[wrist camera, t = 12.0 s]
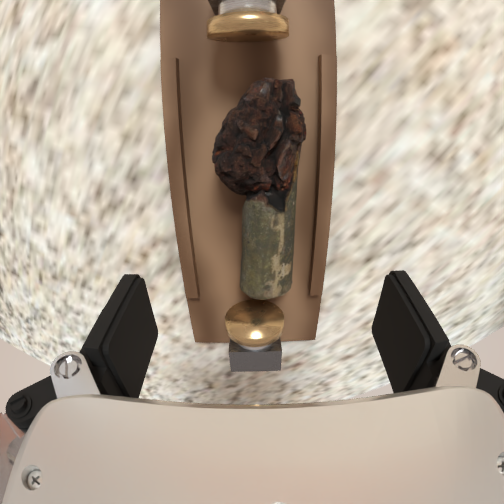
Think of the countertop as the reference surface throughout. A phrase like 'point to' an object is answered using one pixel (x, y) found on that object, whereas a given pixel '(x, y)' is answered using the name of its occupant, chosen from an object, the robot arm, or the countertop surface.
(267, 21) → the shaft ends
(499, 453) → the robot arm
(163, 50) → the cradle
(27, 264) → the countertop surface
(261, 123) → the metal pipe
